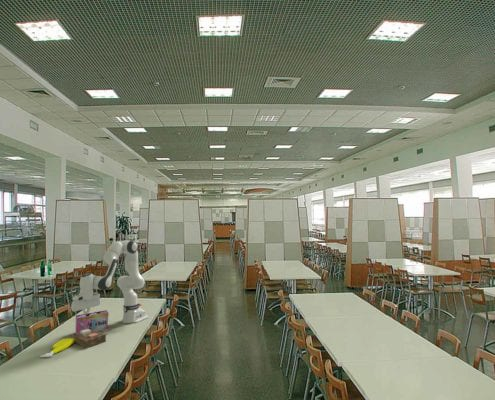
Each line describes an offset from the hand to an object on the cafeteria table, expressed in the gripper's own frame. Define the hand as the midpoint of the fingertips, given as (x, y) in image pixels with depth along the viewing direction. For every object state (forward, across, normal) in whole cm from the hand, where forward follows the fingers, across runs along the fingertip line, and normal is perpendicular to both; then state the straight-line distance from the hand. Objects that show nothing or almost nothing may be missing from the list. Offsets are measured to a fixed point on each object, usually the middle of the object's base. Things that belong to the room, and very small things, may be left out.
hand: (86, 314), depth 228 cm
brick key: (+17, 0, +10) cm, 20 cm away
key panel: (+19, 0, +5) cm, 20 cm away
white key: (+16, 0, 0) cm, 16 cm away
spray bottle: (+19, +19, 0) cm, 27 cm away
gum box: (+19, -13, -15) cm, 28 cm away
